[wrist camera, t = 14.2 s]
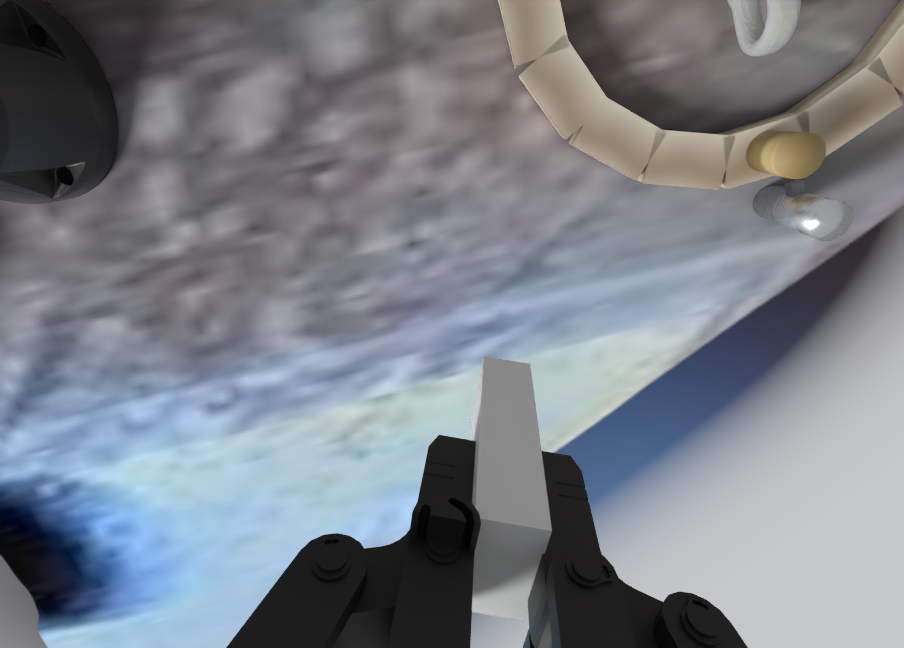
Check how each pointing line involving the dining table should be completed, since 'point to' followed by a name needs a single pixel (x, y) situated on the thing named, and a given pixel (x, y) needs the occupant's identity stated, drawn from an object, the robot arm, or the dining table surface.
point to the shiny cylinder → (803, 210)
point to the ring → (690, 153)
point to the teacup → (751, 28)
